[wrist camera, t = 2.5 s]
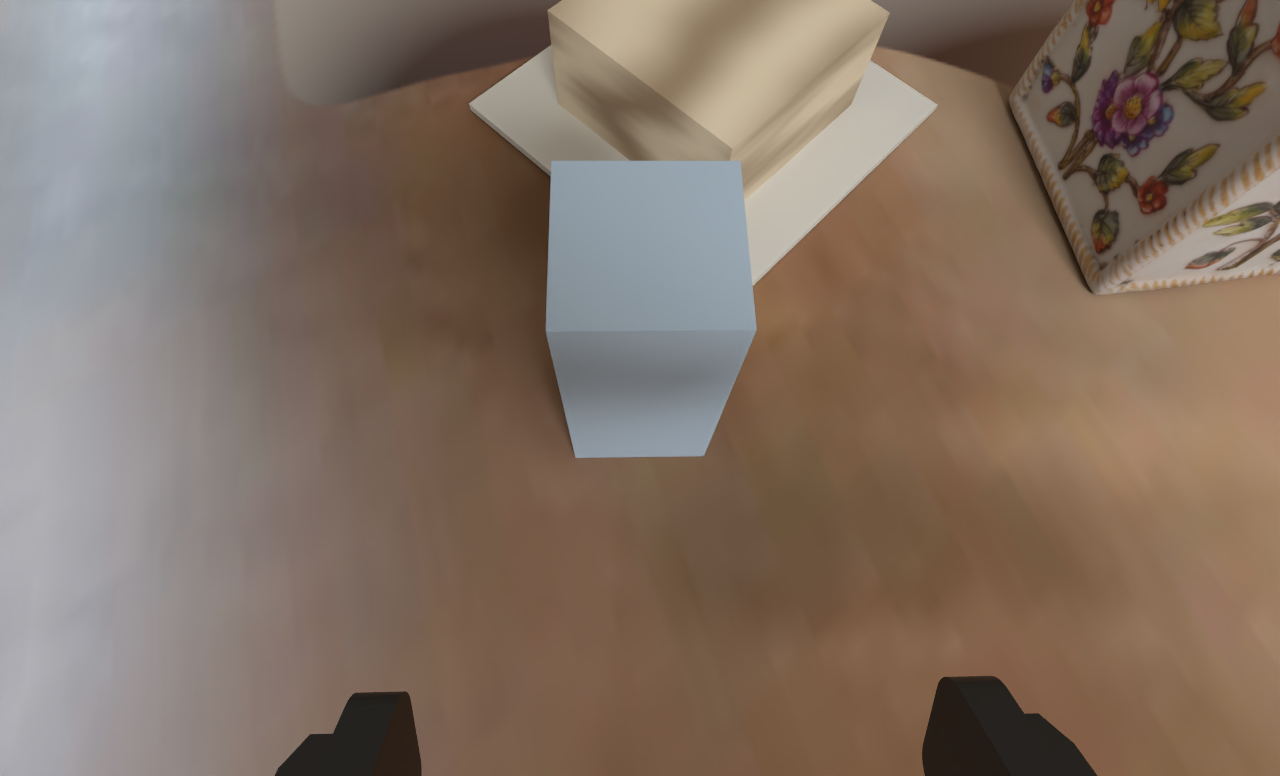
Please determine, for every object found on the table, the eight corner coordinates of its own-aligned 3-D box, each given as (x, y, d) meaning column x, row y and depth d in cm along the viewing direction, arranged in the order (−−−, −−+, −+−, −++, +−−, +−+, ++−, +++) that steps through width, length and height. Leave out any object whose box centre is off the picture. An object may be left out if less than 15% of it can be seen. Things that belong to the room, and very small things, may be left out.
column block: (575, 457, 26) (545, 331, 16) (577, 341, 28) (551, 160, 18) (703, 456, 26) (756, 329, 16) (696, 340, 28) (740, 161, 18)
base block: (558, 103, 32) (547, 10, 27) (697, -1, 35) (709, -102, 30) (714, 228, 29) (732, 148, 25) (851, 104, 32) (889, 12, 28)
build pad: (470, 109, 32) (468, 103, 32) (693, -50, 37) (693, -57, 36) (720, 317, 28) (721, 313, 28) (933, 111, 33) (937, 104, 32)
